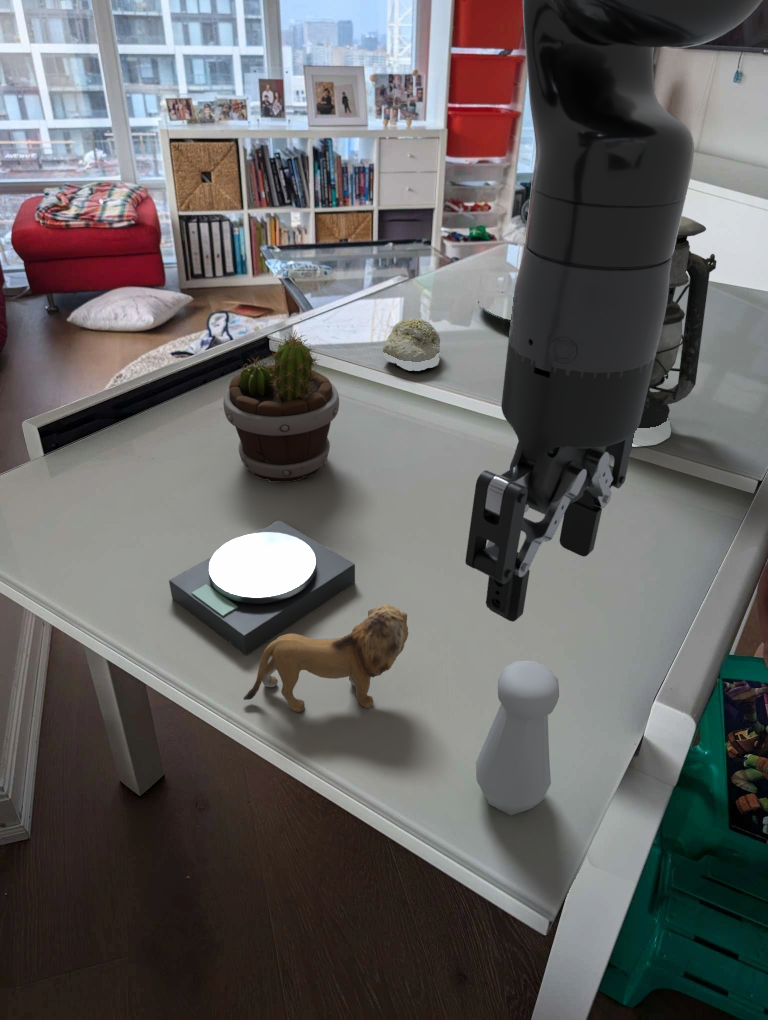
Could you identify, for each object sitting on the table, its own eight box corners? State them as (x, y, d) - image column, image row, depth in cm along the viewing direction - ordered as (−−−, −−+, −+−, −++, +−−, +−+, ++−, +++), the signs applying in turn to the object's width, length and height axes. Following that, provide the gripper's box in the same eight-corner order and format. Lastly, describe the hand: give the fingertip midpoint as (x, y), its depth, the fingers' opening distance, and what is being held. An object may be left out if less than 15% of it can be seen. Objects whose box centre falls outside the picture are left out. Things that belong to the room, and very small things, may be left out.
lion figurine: (399, 661, 72) (402, 587, 67) (412, 703, 67) (416, 628, 62) (242, 682, 69) (233, 608, 64) (245, 728, 65) (236, 652, 60)
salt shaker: (528, 838, 57) (554, 721, 50) (460, 802, 59) (474, 686, 52) (557, 782, 61) (584, 666, 54) (492, 750, 63) (509, 636, 56)
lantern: (563, 444, 108) (601, 225, 91) (548, 388, 124) (577, 192, 107) (697, 450, 107) (759, 230, 90) (664, 392, 123) (712, 196, 106)
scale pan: (256, 619, 72) (256, 613, 72) (187, 570, 78) (186, 564, 78) (338, 567, 79) (338, 561, 78) (268, 525, 85) (268, 519, 84)
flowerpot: (211, 455, 103) (193, 312, 92) (310, 428, 110) (305, 293, 99) (255, 506, 93) (241, 353, 82) (362, 473, 100) (362, 327, 89)
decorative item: (374, 325, 134) (427, 302, 132) (394, 370, 138) (445, 348, 136) (373, 342, 123) (430, 318, 122) (394, 390, 127) (450, 367, 125)
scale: (246, 655, 72) (243, 634, 71) (171, 598, 79) (168, 578, 77) (355, 582, 81) (355, 562, 80) (280, 537, 88) (279, 518, 86)
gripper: (586, 289, 46) (549, 511, 55) (440, 357, 37) (425, 608, 46) (707, 320, 42) (646, 554, 51) (576, 404, 33) (530, 669, 42)
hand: (541, 579), depth 48 cm, fingers open, 8 cm apart
